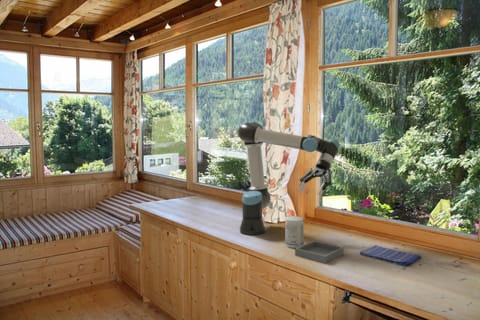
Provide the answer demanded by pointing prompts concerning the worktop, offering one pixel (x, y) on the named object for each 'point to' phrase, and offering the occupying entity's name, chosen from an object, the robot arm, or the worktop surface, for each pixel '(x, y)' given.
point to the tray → (319, 251)
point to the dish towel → (390, 255)
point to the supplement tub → (294, 231)
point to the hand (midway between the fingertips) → (309, 193)
